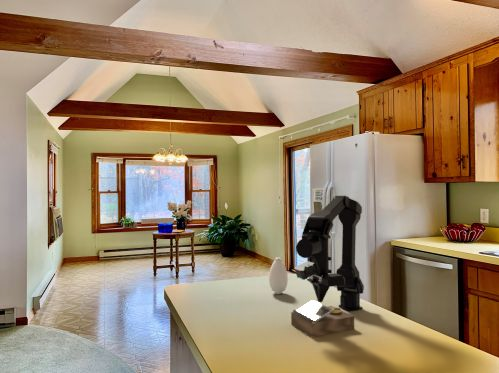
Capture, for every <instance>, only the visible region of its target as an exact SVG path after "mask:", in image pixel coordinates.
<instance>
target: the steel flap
mask: <svg viewBox="0 0 499 373" xmlns="http://www.w3.org/2000/svg"><path fill="white" fill-rule="evenodd" d="M295 310H296V311H298V312H300V313H302V314H304V315H306V316H307V317H309V318H311V319H312V321H314V322H317V321H318V320H320V319H321V318H323V317H324V316H326V315H327V314H329V313H330V312H332V311H333V310H332V309H331V308H329V307H328V306H326V305H324V304H322V303H321V302H318V301H316V300H313V299H312V300H310V301H309V302H307V303H305V304H304V305H302V306H301V307H299V308H298V309H295Z"/></svg>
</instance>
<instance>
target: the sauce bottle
mask: <svg viewBox="0 0 499 373" xmlns="http://www.w3.org/2000/svg"><path fill="white" fill-rule="evenodd" d="M279 254H280V253H279V252H277V257H275V258H274V260H273V262H272V264H271V266H270V269H269V274H268V283H269V287H270V289H271V291H273V293H274V294H276V293H277V294H276V295H280V293H281V294H283V292H285V291H286V289H287V287H288V286H287V285H288V280H289V279H288V272H287V268H286V265H285V263H284V262H283V261H282V258H281V257H280V255H279Z"/></svg>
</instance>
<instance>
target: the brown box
mask: <svg viewBox="0 0 499 373" xmlns="http://www.w3.org/2000/svg"><path fill="white" fill-rule="evenodd" d="M327 307H333V305H329V306H327ZM296 310H297V309H293V310H292V311H290V312H291V313H290V314H291V315H290V316H291V317H290V319H291V320H290V321H291V322H290V324H291V326H293V327H295V328H297V329H298V330H300V331H301V332H303V333H305V334H306V335H308V336H309V337H311V338H313V337H315V338H316V337H320V336H324V335H330V334H335V333H340V332H347V331H351V330H355V316H354V315H352V314H350V313H348V312H346V311H343V310H341V314H337V315H332V314H327V315H326V316H324V317H323V318H321V319H320V320H318V321H317V322H314V321H312V319H311V318H309V317H307V316H306V315H304V314H302V313H300V312H298V311H296Z"/></svg>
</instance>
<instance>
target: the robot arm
mask: <svg viewBox="0 0 499 373" xmlns="http://www.w3.org/2000/svg"><path fill="white" fill-rule="evenodd" d="M362 213H363V207H362V205H361V204H360V203H359V201H357V200H355V199H352V198H350V197H349V196H347V195H335V196H333V198H332V199H331V201H329V203H328V204H327V205H326V206H325V207H324V208H322V210H319V211H315V212H313V213H311V214H310V215H309V216H308V217H307V219H306V222H305V225H304V227H303V231H302V233H301V239H299V241H297V244H296V246H295V251H296V253H297V255H298V256H299V257H301V258H303V259H307V261H305V262H303V263H300V264H299V265H297V266H295V267H294V271H295V275H296V278H298V279H301V280H307V282H309V283H310V284H311V285H312V287H313V290H314V294H315V296H316V300H317V302H318V303H323V301H324V300H325V297H326V295H327V293H328V291H329V289H330V288H331V287H336V290H337V292H340V295H339V296H340V297H339V298H340V299H339V300H340V301H339V302H340V303H339V304H338V308H340V309H341V308H342V309H343V310H346V311H347V312H349V311H350V312H351V311H352V312H353V311H357V310H358V311H359V310H362V309H363V307H362V306H361V305H360V304H361V301H360V300H361V299H360V298H361V296H360V295H361V294H364V289H365V286H364V284H363V282H362V279H361V278H360V276H361V275H360V271H359V269H358V268H357V266H356V237H357V235H356V232H357V231H356V230H357V228H356V227H357V225H358V223H359V221H361V217H362V216H361V215H362ZM337 216H338V220H339V221H340V223H341V225H342V238H341V239H342V240H341V242H342V243H341V245H342V246H341V251H342V252H341V265H340V266H339V267H338V268H337V269H336V273H335V272H334V273H332V271H333V270H332V269H330V268H329V267H330V261H332V257H331V256H329V254H330V252H329V239H331V235H330V232H331V230H332V228H333V227H334V223H333V221H334V220H335V219H336V218H337Z"/></svg>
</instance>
